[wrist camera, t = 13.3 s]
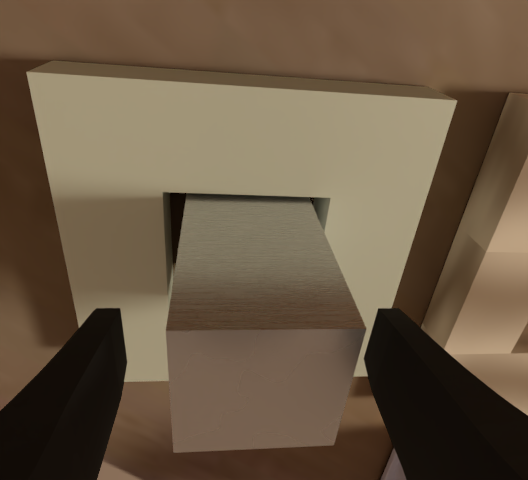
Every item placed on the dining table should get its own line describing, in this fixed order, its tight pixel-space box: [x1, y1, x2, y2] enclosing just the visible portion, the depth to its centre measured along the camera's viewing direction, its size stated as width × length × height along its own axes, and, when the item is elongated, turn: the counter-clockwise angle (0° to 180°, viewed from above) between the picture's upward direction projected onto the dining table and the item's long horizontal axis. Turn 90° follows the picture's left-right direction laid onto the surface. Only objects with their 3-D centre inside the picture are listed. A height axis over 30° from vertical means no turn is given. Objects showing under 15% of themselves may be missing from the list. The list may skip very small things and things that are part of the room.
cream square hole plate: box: [26, 60, 457, 382], centre depth 15 cm, size 12×12×2 cm
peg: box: [166, 193, 366, 453], centre depth 12 cm, size 4×4×8 cm
